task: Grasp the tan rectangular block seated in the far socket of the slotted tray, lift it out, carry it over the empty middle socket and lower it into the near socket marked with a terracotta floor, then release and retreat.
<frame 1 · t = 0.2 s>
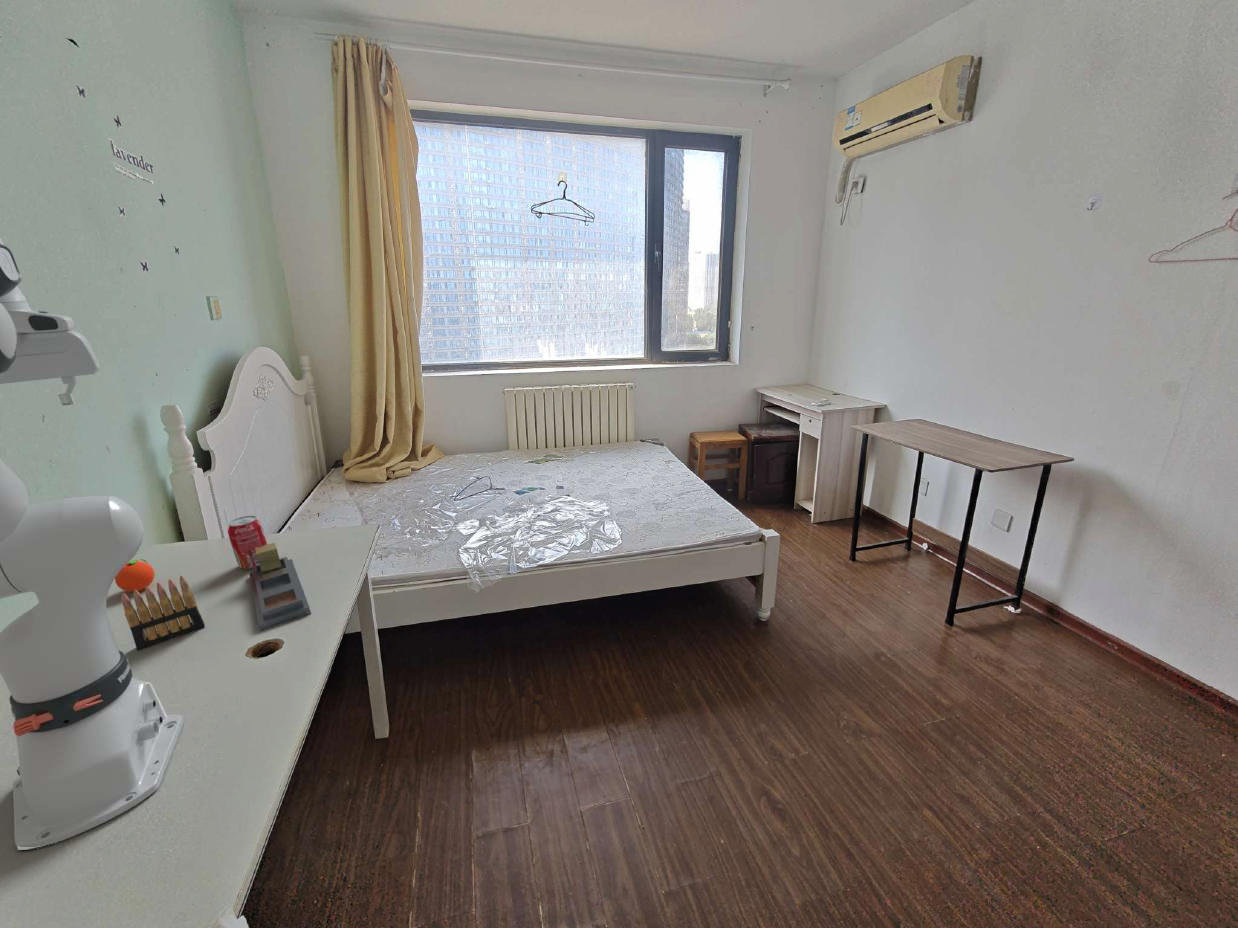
hand: (30, 409, 90), 48 cm above the table, fingers open, 8 cm apart
clementine: (141, 588, 129), on the table
ammunition clip: (172, 637, 109), on the table
tan rectangular block: (272, 572, 129), point 1 cm above the table, touching slotted tray
soda can: (255, 564, 137), on the table
slotted tray: (278, 593, 122), on the table
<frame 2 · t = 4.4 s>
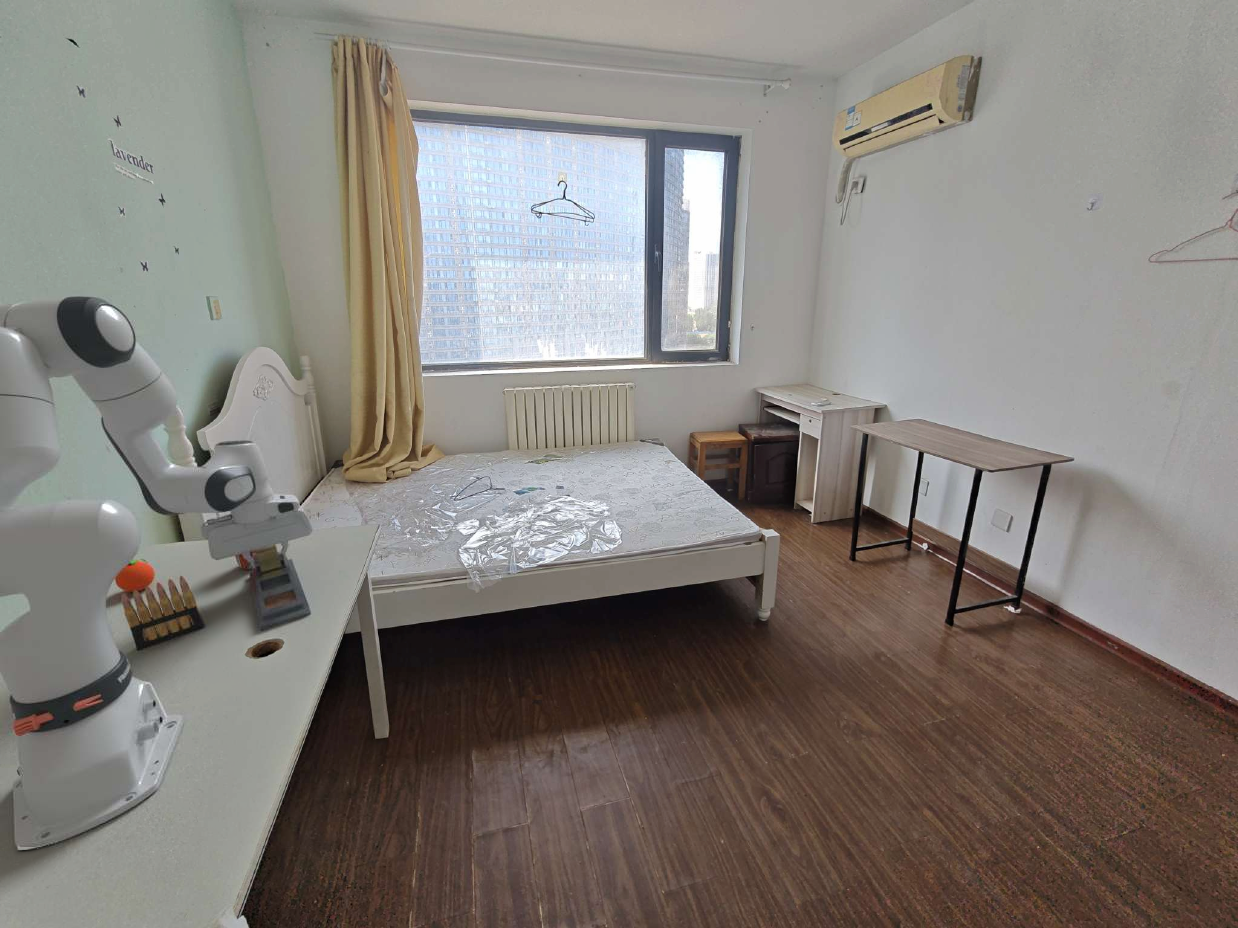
hand: (270, 562, 128), 4 cm above the table, fingers closed on tan rectangular block, 4 cm apart
tan rectangular block: (272, 572, 129), point 2 cm above the table, touching gripper, slotted tray
everything else where it was.
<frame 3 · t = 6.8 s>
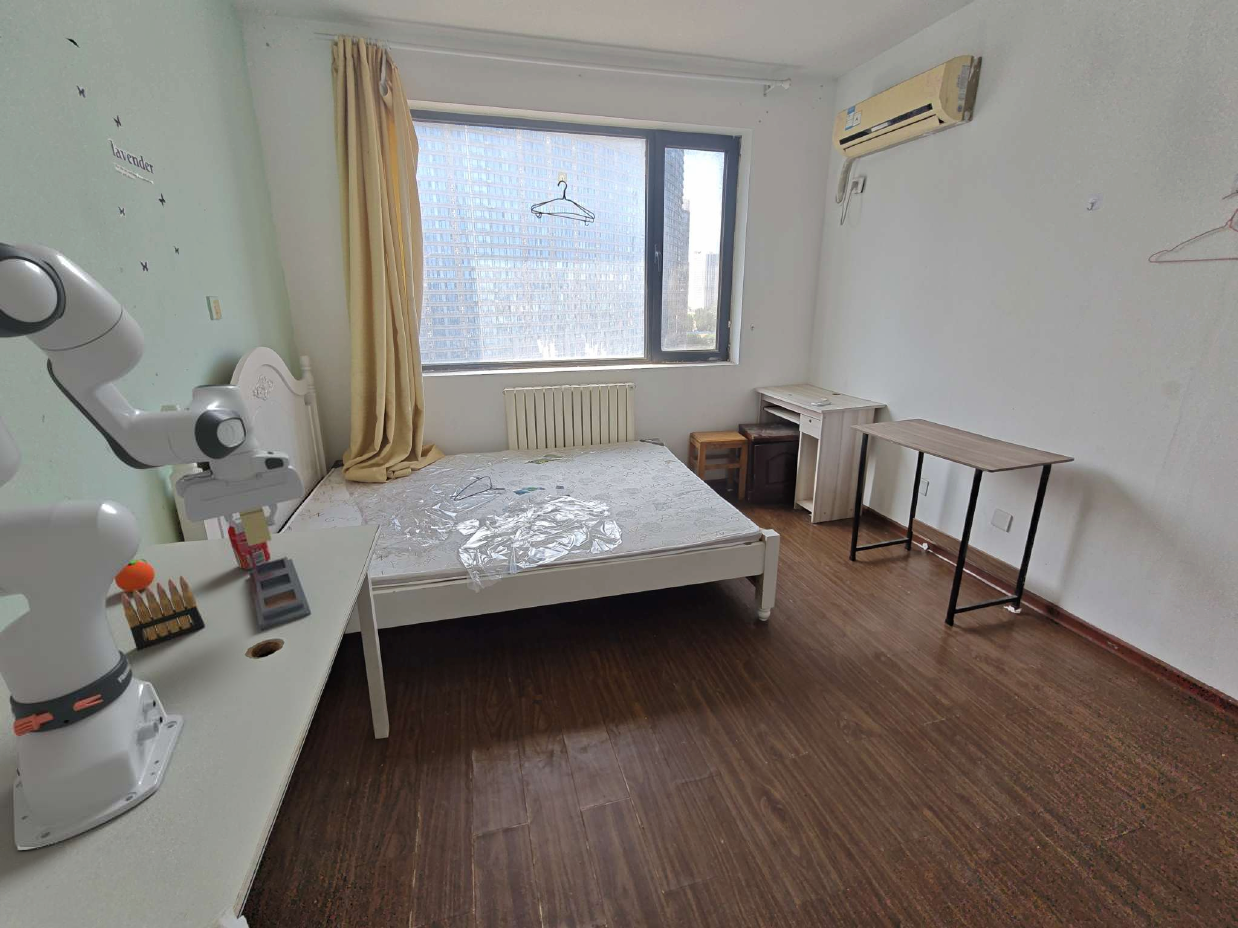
hand: (256, 528, 113), 18 cm above the table, fingers closed on tan rectangular block, 4 cm apart
tan rectangular block: (259, 540, 113), point 15 cm above the table, touching gripper
everything else where it was.
when the fingers open (5 cm above the table, at t = 9.6 s): tan rectangular block stays where it is, resting on slotted tray.
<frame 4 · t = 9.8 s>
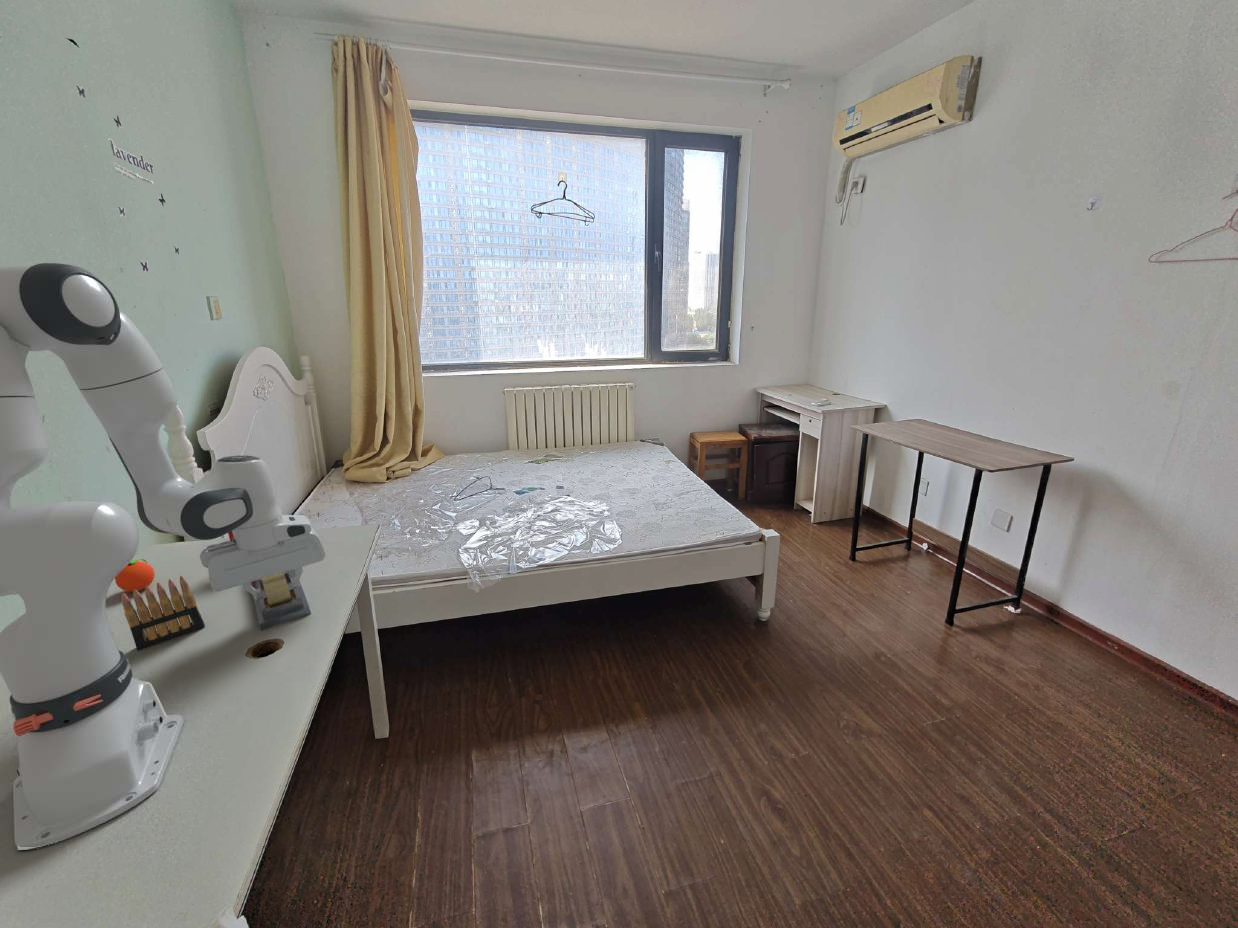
hand: (277, 592, 114), 5 cm above the table, fingers open, 5 cm apart
tan rectangular block: (281, 604, 115), point 2 cm above the table, touching slotted tray
everything else where it was.
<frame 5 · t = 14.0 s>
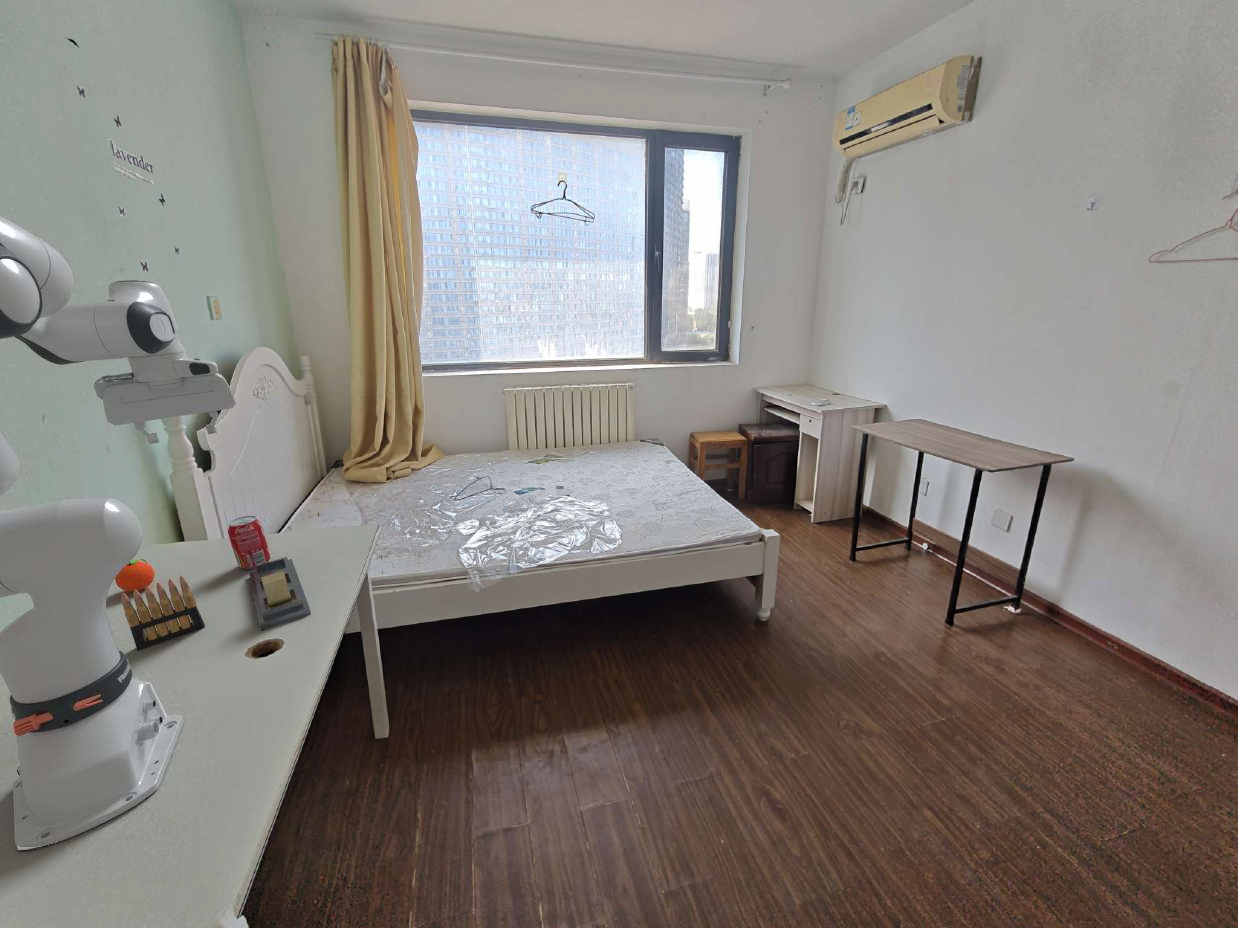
hand: (184, 438, 110), 37 cm above the table, fingers open, 8 cm apart
nothing on the table moved.
at the end: tan rectangular block 0.1 cm from the target spot on the slotted tray, point 1.6 cm above the slotted tray's base; tan rectangular block tilted 0°; the gripper is holding nothing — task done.
